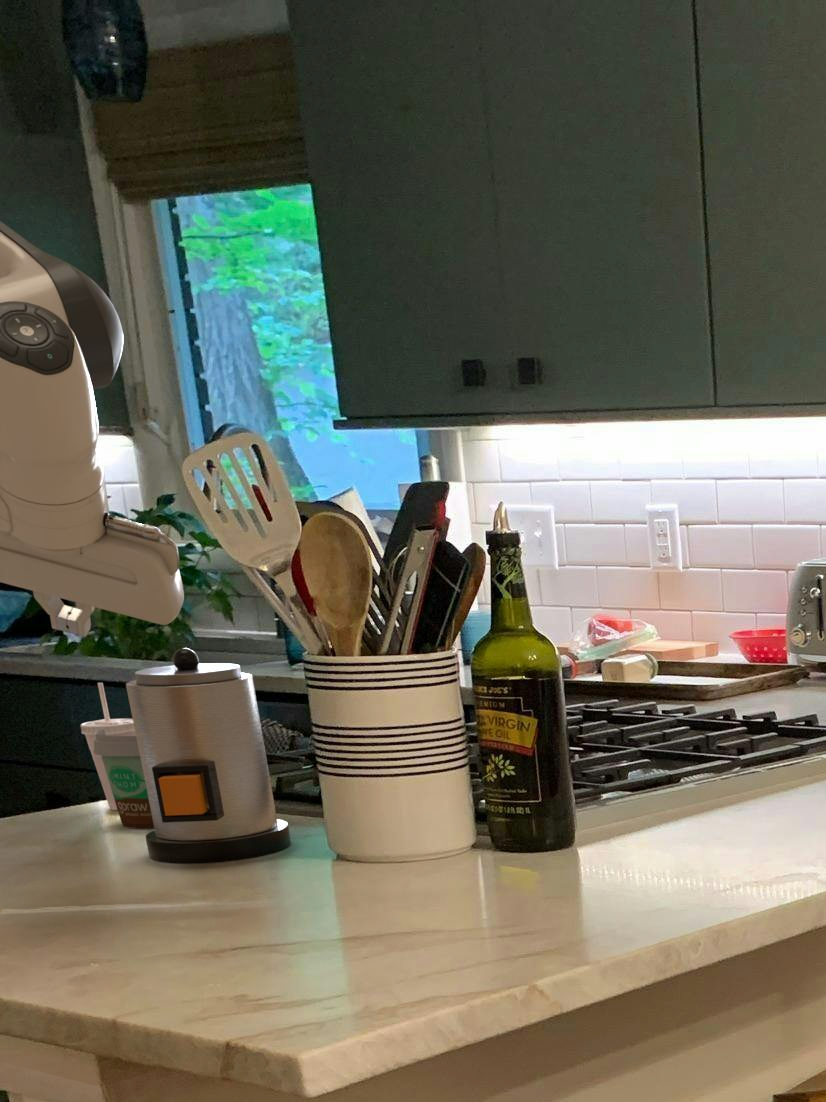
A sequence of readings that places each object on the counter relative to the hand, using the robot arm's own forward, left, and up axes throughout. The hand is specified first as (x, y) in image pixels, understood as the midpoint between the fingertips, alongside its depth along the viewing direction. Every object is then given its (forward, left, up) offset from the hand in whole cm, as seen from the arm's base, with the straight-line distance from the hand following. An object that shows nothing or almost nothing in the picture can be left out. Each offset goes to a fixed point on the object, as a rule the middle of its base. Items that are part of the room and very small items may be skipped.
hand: (72, 628), depth 177 cm
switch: (+5, +7, -18) cm, 20 cm away
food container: (-7, +31, -24) cm, 40 cm away
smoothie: (-14, +44, -24) cm, 52 cm away
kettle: (+5, +15, -23) cm, 28 cm away
